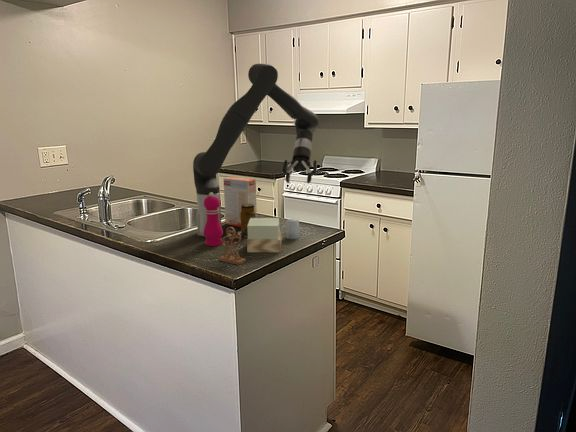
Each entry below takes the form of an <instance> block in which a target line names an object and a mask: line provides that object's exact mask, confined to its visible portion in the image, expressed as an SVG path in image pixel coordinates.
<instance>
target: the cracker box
mask: <svg viewBox="0 0 576 432" xmlns="http://www.w3.org/2000/svg"><path fill="white" fill-rule="evenodd" d="M223 198H224V221H225V223H224V224H225V225H229V226H232V227H233V226H234V227H238V228H241V211H242V210H241V206H242V205H243V204H253V205H254V211H255V216H256V217H255V218H258V214H257V210H258V209H257V181H256V179H255V178H245V177H237V176H229V177H224V178H223Z"/></svg>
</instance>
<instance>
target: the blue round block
mask: <svg viewBox="0 0 576 432" xmlns="http://www.w3.org/2000/svg"><path fill="white" fill-rule="evenodd" d="M285 223H286V224H285V231H286V235H285V236H286V239H289V240H297V239H299V237H300V220H299V219H298V218H297V219H296V218H288V219H286V220H285Z"/></svg>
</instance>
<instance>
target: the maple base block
mask: <svg viewBox="0 0 576 432" xmlns="http://www.w3.org/2000/svg"><path fill="white" fill-rule="evenodd" d="M282 243H283V230H282V229H281V230H280V229H279V239H248V237H246V249H247V250H246V251H247V252H246V253H281V252H282Z"/></svg>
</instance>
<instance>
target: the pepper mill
mask: <svg viewBox="0 0 576 432" xmlns="http://www.w3.org/2000/svg"><path fill="white" fill-rule="evenodd" d="M204 206H205V208H206V210H205V211H206V214H207V222H206V225H205V228H204V236H203V237H205V245H206V246H209V247H217V246H219V245H223V244H222V239H223V237H222V236H223V234H224V230H223V228H222V224H221V225H220V222H219V220H218V213H219V209H218V207H219V206H220V207H221V200H220V201H219V199H218V198H217V197H215V196H214V194H213V193H212V192H210V193H209V197H207V198H205V200H204Z"/></svg>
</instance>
